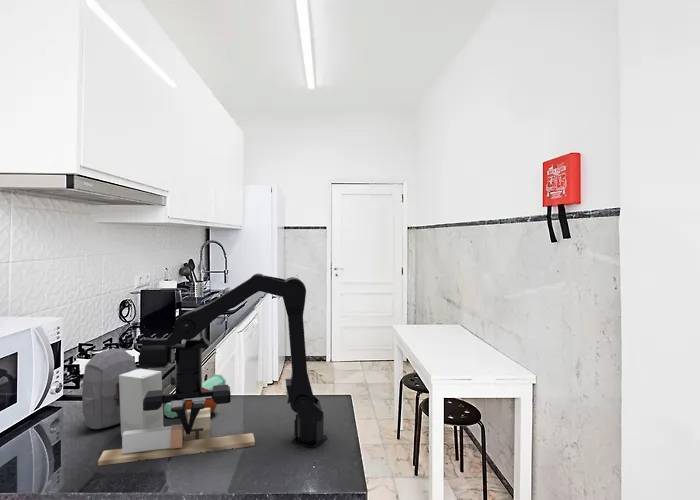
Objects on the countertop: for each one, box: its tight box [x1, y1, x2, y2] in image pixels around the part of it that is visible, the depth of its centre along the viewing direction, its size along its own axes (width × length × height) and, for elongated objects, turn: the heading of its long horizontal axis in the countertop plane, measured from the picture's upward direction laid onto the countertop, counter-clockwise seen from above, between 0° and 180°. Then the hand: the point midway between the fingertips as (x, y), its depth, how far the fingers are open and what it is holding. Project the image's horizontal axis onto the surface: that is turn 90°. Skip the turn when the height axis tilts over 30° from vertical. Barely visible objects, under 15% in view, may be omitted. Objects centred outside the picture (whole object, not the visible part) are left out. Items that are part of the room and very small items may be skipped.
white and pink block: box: [121, 423, 184, 454], centre depth 100 cm, size 12×3×4 cm, turn 108°
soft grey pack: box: [81, 348, 138, 430], centre depth 117 cm, size 15×8×20 cm, turn 156°
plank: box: [97, 432, 256, 467], centre depth 102 cm, size 33×5×1 cm, turn 108°
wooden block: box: [183, 408, 211, 441], centre depth 109 cm, size 6×6×6 cm
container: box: [163, 373, 227, 419], centre depth 133 cm, size 6×6×25 cm
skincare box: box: [119, 368, 164, 437], centre depth 111 cm, size 8×7×16 cm
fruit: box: [186, 387, 218, 414], centre depth 123 cm, size 9×9×8 cm
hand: (188, 433), depth 103 cm, fingers closed
